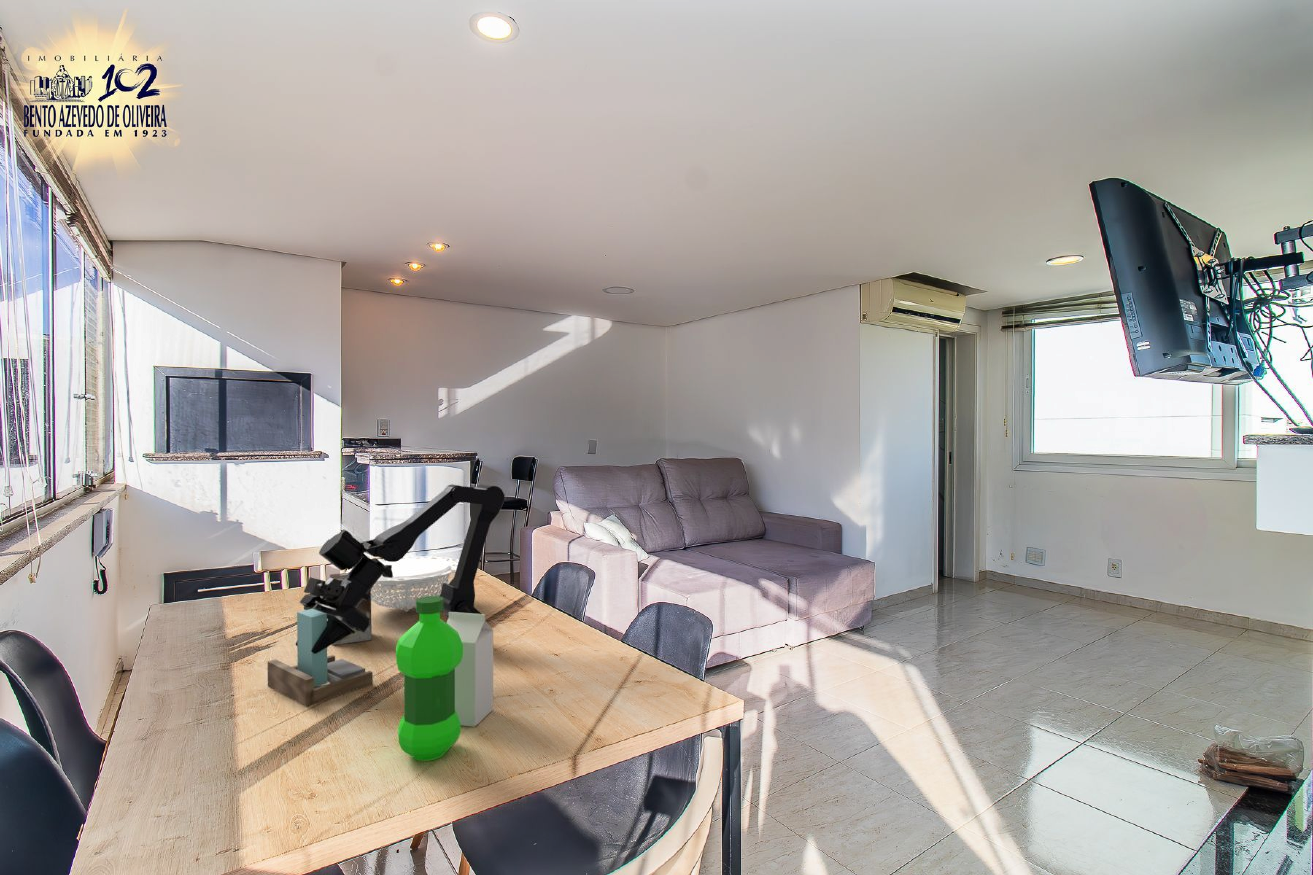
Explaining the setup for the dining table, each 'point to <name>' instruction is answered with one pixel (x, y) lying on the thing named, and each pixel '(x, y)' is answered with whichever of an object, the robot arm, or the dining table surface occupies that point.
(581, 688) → the dining table surface
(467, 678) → the milk carton
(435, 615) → the plastic bottle
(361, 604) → the coffee box
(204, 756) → the dining table surface
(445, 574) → the colander
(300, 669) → the teal rectangular block
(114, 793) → the dining table surface
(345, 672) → the offcut stack
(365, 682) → the frame
